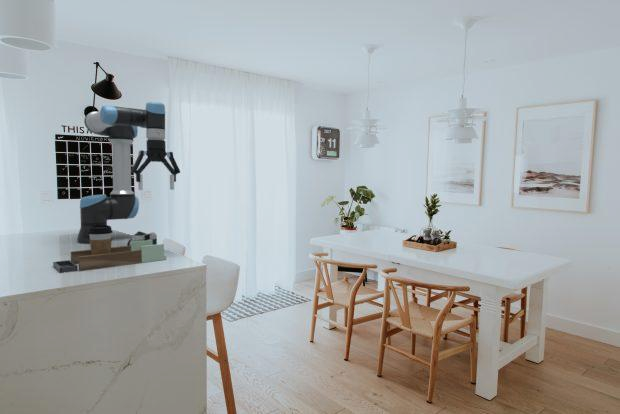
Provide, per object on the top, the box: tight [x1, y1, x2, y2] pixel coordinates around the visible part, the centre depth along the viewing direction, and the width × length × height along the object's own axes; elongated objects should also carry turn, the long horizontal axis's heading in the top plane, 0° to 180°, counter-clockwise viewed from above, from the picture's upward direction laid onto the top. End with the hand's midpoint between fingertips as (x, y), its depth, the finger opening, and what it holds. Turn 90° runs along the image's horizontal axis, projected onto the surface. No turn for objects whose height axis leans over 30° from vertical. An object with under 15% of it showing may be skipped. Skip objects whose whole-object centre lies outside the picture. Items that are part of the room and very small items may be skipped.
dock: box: [130, 240, 167, 264], centre depth 169 cm, size 13×10×6 cm
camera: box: [126, 231, 158, 246], centre depth 181 cm, size 16×9×10 cm, turn 168°
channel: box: [70, 245, 142, 272], centre depth 159 cm, size 13×22×5 cm, turn 132°
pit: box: [52, 259, 79, 274], centre depth 150 cm, size 12×6×2 cm, turn 42°
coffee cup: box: [88, 224, 113, 255], centre depth 157 cm, size 8×8×15 cm
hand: (156, 189), depth 174 cm, fingers open, 13 cm apart
